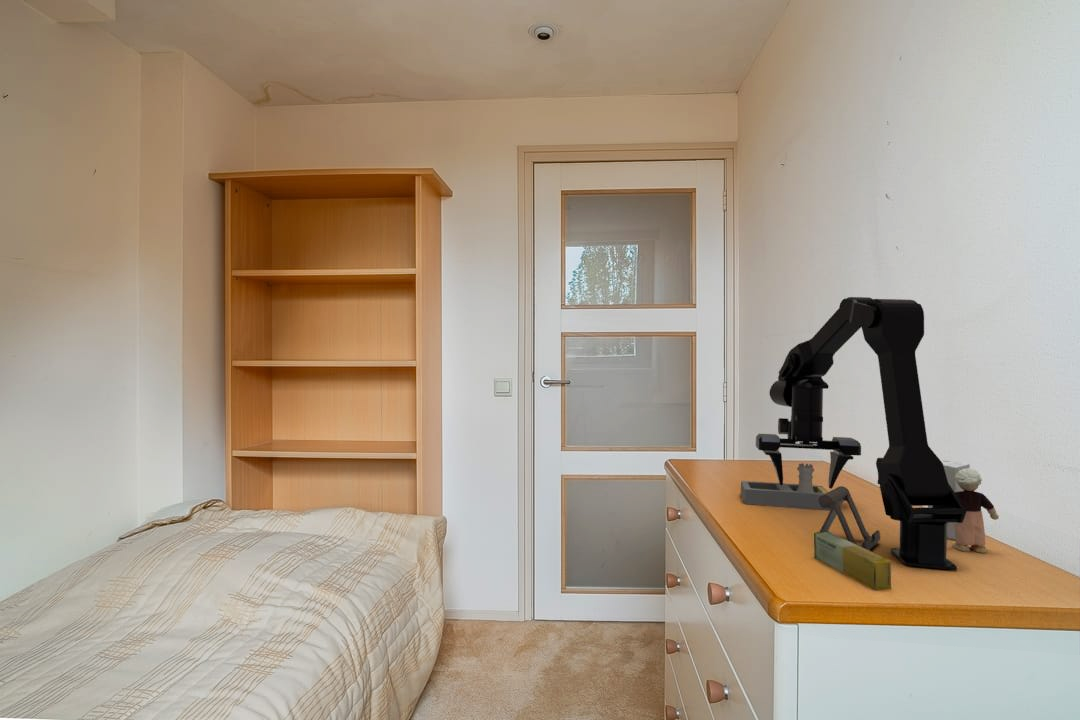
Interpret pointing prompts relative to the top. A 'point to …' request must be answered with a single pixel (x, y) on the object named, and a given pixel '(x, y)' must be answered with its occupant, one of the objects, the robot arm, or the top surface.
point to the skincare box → (951, 471)
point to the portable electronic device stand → (834, 503)
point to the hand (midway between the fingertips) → (805, 486)
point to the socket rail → (781, 495)
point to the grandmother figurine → (972, 512)
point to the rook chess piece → (805, 478)
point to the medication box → (853, 560)
